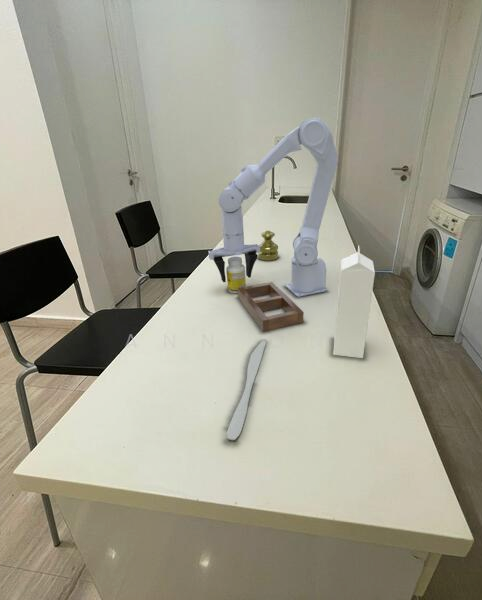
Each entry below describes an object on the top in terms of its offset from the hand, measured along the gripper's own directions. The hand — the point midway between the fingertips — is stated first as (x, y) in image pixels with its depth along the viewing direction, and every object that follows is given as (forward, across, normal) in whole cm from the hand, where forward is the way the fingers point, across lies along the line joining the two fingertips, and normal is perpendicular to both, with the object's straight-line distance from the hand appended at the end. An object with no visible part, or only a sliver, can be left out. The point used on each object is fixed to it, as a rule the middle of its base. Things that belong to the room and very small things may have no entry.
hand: (236, 278), depth 97 cm
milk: (+4, +13, -38) cm, 40 cm away
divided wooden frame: (+4, +4, -15) cm, 16 cm away
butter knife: (+4, -10, -40) cm, 41 cm away
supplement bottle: (+4, 0, 0) cm, 4 cm away
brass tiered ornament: (+4, +19, +22) cm, 29 cm away
